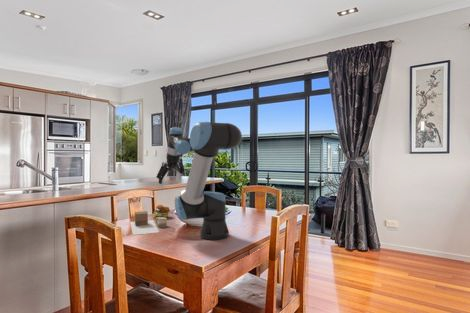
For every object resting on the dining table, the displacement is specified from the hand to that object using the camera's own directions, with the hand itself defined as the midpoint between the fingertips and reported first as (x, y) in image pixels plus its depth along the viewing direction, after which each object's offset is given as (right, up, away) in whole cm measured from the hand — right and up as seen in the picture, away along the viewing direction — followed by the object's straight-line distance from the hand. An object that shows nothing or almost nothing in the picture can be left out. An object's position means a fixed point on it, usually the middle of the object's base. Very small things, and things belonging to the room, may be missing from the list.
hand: (169, 184), depth 183 cm
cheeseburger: (-10, -25, +19) cm, 33 cm away
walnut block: (-17, -24, -1) cm, 29 cm away
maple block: (-4, -24, -5) cm, 25 cm away
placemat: (-13, -24, -7) cm, 29 cm away
